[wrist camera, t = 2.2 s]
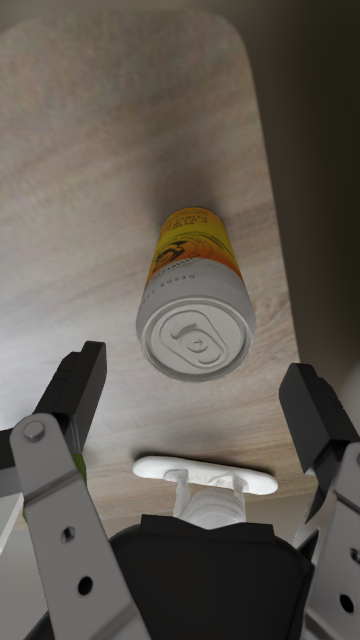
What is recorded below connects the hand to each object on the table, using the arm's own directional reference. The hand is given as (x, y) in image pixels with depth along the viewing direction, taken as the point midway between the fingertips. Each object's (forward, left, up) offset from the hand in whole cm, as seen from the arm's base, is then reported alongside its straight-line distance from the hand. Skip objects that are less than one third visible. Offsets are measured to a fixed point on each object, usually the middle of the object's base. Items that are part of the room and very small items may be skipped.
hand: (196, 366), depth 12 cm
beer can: (0, 0, -17) cm, 17 cm away
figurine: (+40, +8, -17) cm, 44 cm away
